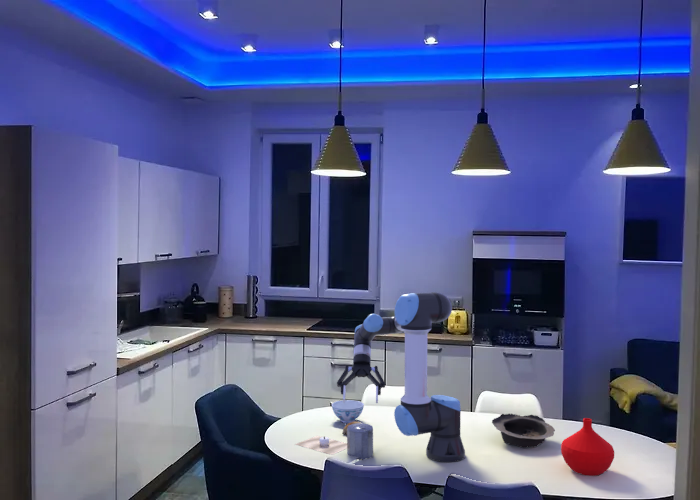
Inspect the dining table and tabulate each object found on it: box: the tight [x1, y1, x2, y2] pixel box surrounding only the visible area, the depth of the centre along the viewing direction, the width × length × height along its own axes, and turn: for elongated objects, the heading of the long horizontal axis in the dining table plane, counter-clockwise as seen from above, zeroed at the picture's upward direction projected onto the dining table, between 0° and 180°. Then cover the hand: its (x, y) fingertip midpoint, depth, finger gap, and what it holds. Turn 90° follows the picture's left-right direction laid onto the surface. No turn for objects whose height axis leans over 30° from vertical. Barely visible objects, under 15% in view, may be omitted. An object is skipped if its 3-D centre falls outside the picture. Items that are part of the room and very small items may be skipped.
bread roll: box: [342, 421, 361, 437], centre depth 269 cm, size 10×10×8 cm
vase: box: [560, 417, 615, 477], centre depth 228 cm, size 18×18×19 cm
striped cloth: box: [294, 435, 347, 456], centre depth 255 cm, size 20×14×1 cm
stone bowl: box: [491, 413, 556, 449], centre depth 260 cm, size 25×25×9 cm
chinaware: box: [331, 399, 365, 424], centre depth 291 cm, size 15×15×8 cm
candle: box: [320, 436, 330, 446], centre depth 255 cm, size 4×4×3 cm
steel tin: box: [346, 422, 374, 460], centre depth 246 cm, size 10×10×11 cm
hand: (360, 401), depth 257 cm, fingers open, 13 cm apart
